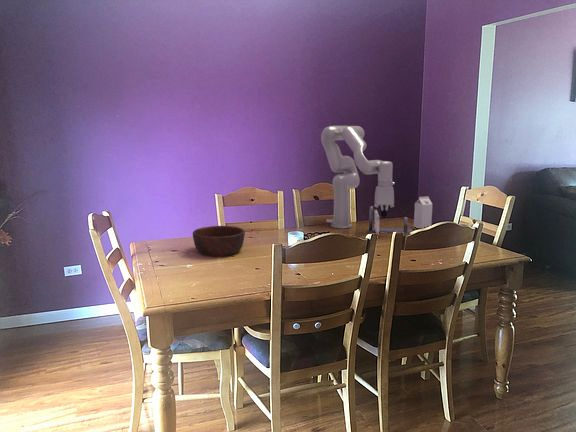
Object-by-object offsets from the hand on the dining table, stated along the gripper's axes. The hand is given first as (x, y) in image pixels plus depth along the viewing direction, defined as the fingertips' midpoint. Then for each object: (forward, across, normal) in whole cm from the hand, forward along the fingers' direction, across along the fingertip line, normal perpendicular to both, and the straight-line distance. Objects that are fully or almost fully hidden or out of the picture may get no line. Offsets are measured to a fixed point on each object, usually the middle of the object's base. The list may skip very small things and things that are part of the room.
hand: (383, 217), depth 276 cm
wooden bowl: (+10, +85, +36) cm, 93 cm away
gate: (+8, +4, -3) cm, 9 cm away
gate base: (+10, -5, -10) cm, 15 cm away
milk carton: (+10, -26, -19) cm, 33 cm away
